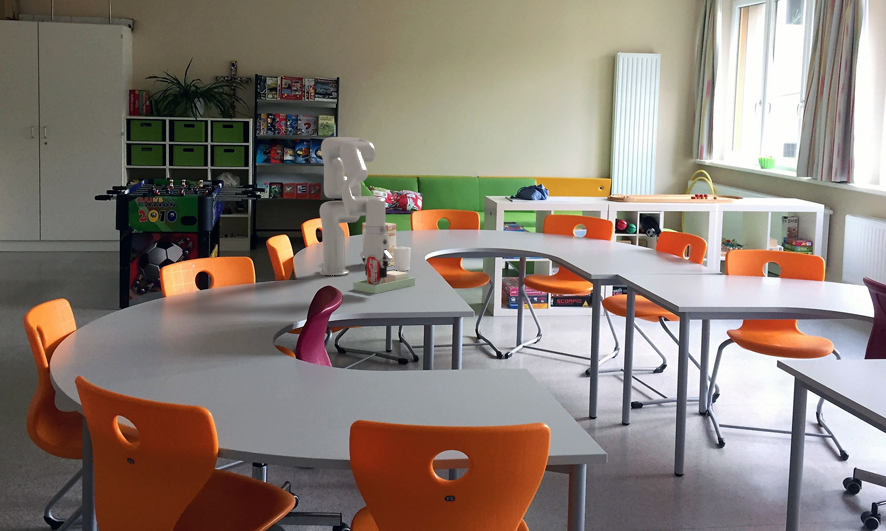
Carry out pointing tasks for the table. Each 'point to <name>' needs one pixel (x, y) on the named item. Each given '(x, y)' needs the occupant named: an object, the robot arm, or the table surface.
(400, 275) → the cream square tile
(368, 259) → the soda can
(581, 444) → the table surface
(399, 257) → the white cup
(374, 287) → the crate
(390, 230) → the coffeecake box
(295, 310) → the table surface
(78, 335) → the table surface
